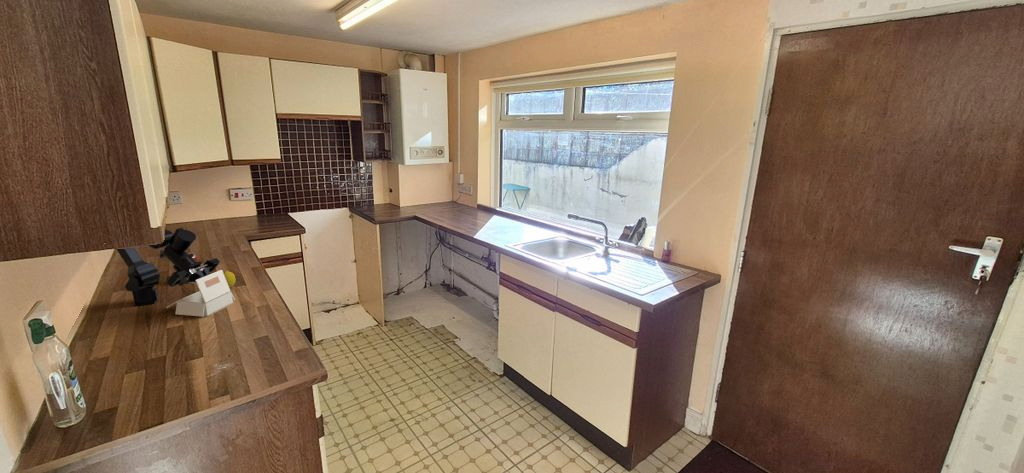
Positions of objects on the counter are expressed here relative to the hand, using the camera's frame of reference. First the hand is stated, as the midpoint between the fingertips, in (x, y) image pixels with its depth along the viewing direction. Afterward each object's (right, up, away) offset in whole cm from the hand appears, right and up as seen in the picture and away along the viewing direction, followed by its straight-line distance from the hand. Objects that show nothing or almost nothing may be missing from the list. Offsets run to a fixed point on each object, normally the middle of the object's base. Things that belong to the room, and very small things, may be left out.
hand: (211, 287), depth 157 cm
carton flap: (+2, -4, +1) cm, 5 cm away
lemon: (-9, -3, +23) cm, 25 cm away
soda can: (-30, -1, +30) cm, 42 cm away
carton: (-6, -8, +3) cm, 11 cm away
